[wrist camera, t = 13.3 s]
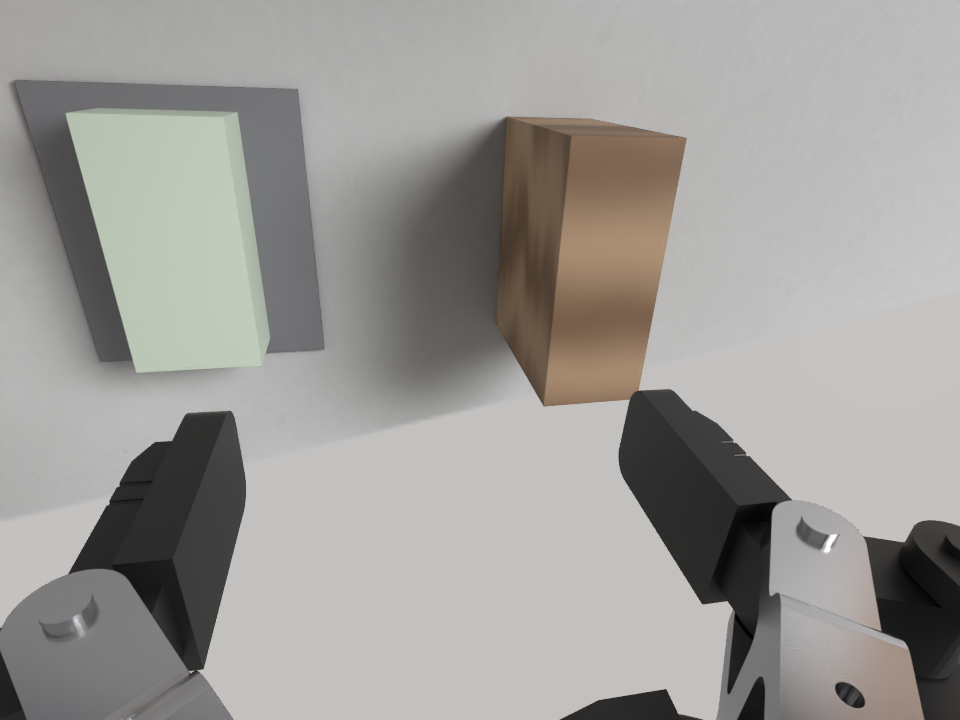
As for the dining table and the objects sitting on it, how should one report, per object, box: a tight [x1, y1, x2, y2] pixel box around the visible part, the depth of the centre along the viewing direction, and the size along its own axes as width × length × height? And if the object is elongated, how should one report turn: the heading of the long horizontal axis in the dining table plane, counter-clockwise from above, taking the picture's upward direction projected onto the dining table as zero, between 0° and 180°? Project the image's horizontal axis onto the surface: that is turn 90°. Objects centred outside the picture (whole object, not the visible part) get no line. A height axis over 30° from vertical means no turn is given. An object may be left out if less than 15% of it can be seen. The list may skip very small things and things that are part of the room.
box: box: [496, 117, 687, 406], centre depth 29 cm, size 12×5×10 cm, turn 178°
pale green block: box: [65, 108, 270, 373], centre depth 27 cm, size 12×6×4 cm, turn 178°
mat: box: [14, 80, 324, 362], centre depth 29 cm, size 14×12×1 cm
